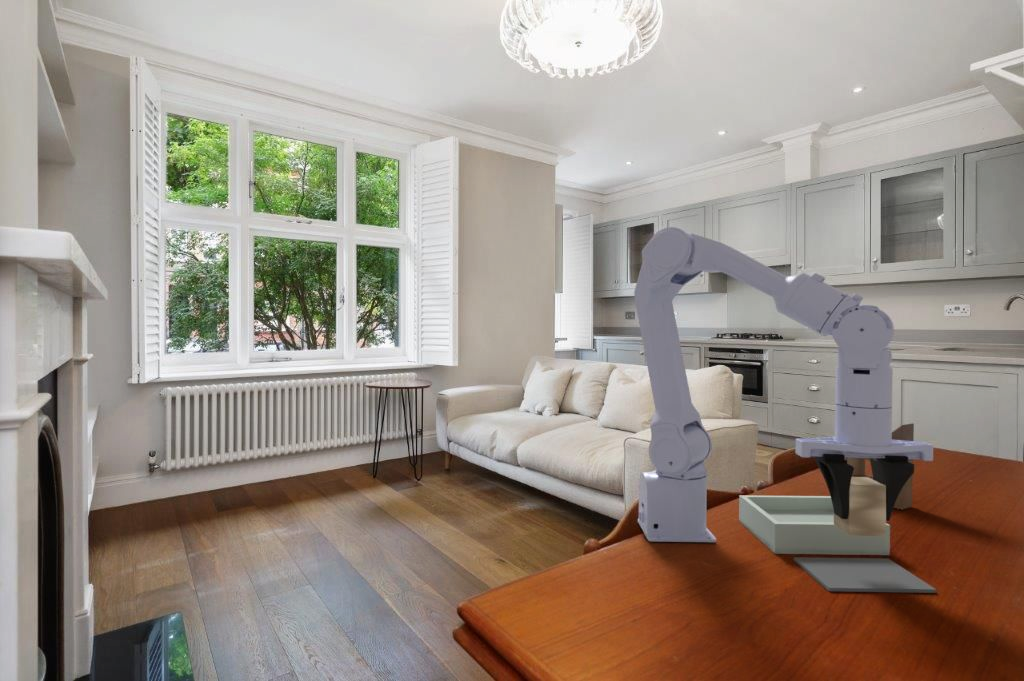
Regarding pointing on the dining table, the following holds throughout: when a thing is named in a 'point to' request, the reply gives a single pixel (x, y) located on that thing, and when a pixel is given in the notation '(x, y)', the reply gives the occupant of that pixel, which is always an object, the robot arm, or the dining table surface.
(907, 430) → the wooden block structure
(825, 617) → the dining table surface
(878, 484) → the birch block
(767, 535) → the box
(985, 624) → the dining table surface
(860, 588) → the mat
